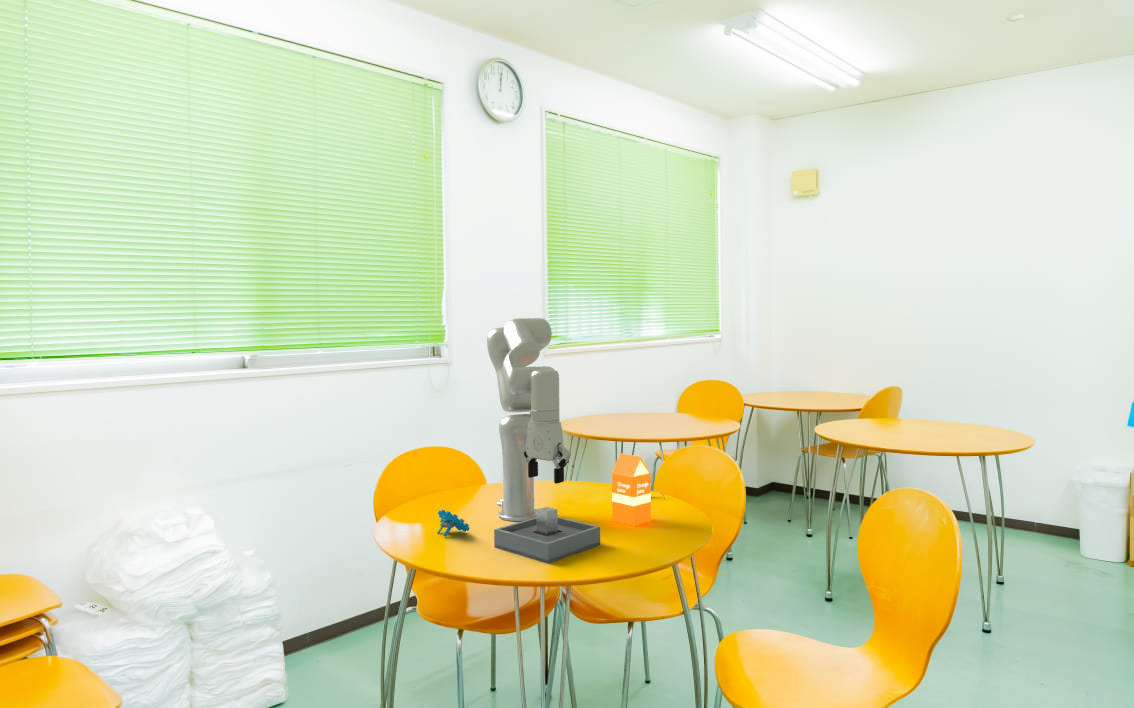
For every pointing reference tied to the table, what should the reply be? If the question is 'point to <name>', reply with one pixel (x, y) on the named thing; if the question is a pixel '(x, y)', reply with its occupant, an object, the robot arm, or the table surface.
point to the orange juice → (631, 491)
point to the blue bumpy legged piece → (451, 522)
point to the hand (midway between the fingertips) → (545, 479)
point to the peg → (547, 521)
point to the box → (547, 539)
